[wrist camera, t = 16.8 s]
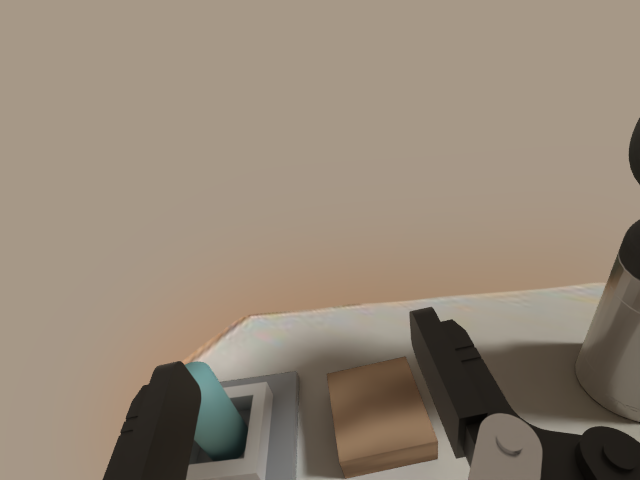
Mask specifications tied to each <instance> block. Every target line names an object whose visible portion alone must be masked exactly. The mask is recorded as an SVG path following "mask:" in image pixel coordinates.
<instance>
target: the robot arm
mask: <svg viewBox="0 0 640 480" xmlns="http://www.w3.org/2000/svg"><path fill="white" fill-rule="evenodd" d="M629 162H630V168H631V170H632V173H633V175H634V177H635V179H636V180H637V182H638V183H639V184H640V118H639V120H638V122H637V124H636V126H635V129H634V131H633V134H632V137H631V141H630V146H629ZM410 329H411V341H412V346H413V350H414V353H415V356H416V359H417V361H418V364H419V366H420V369H421V371H422V374H423V376H424V379H425V381H426V384H427V386H428V389H429V391H430V394H431V396H432V399H433V402H434V404H435V407H436V409H437V412H438V414H439V417H440V419H441V422H442V424H443V427H444V429H445V432H446V434H447V437H448V439H449V442H450V444H451V447H452V449H453V452H454V454H455V457H456V458H461V457H466V458H467V461H468V463H469V466H470V473H469V477H468V480H640V443H639V442H638V441H637V440H635V439H634V438H632V437H631V436H629V435H628V434H626V433H624V432H622V431H619V430H617V429H614V428H610V427H604V426H597V427H592V428H590V429H588V430H586V431H585V432H584V433H583V435H577V434H570V433H562V432H555V431H549V430H544V429H541V428H538V427H535V426H533V425H531V424H529V423H528V422H526V421H525V420H523V419H522V418H520V417H519V416H518V415H517V414H516V413H515V412H514V411H513V409H512V408H511V407H510V405H509V404H508V402H507V400H506V399H505V397H504V395H503V393H502V392H501V390H500V388H499V387H498V385H497V383H496V381H495V380H494V378H493V376H492V375H491V373H490V371H489V370H488V368H487V366H486V364H485V363H484V361H483V360H482V359H481V356H480V354H479V352H478V351H477V349H476V348H475V347H474V344H473V342H472V340H471V339H470V337H469V335H468V334H467V332H466V330H464V329H463V328H462V327H461V326H460V325H458V324H457V323H456V322H455V321H453V320H447V321H442V322H440V320H439V318H438V316H437V314H436V312H435V311H434V309H433V308H432V307H428V308H424V309H419V310H415V311H410ZM575 371H576V376H577V378H578V380H579V382H580V384H581V386H582V387H583V388H584V390H585V391H586V392H587V393H588V394H589V395H590V396H591V397H592V398H593V399H594V400H595V401H597V402H598V403H599V404H601V405H602V406H603V407H605V408H606V409H608V410H610V411H612V412H613V413H615V414H618V415H620V416H622V417H625V418H627V419H631V420H634V421H638V422H640V220H638V221H637V222H635V223H634V224H633V225H632V226H631V227H630V228H629V229H628V231H627V232H626V234H625V236H624V239H623V241H622V244H621V247H620V249H619V252H618V254H617V257H616V260H615V262H614V265H613V268H612V270H611V273H610V276H609V279H608V281H607V283H606V286H605V289H604V291H603V294H602V296H601V299H600V302H599V304H598V307H597V309H596V312H595V314H594V317H593V320H592V322H591V325H590V327H589V330H588V333H587V335H586V338H585V340H584V342H583V345H582V348H581V350H580V353H579V355H578V358H577V361H576V365H575ZM200 406H201V390H200V386H199V384H198V383H197V381H196V380H195V379H194V377H193V376H192V375H191V373H190V372H189V371H188V369H187V368H186V366H185V365H184V364H183V363H182V362H181V361H178V362H173V363H169V364H164V365H160V366H157V367H156V368H155V370H154V372H153V374H152V377H151V380H150V383H149V385H144V386H143V387H142V388H141V390H140V391H139V392H138V394H137V395H136V397H135V398H134V399H133V401H132V403H131V406H130V408H129V411H128V413H127V416H126V422H124V424H123V427H122V429H121V435H120V436H119V438H118V440H117V443H116V446H115V448H114V451H113V454H112V456H111V459H110V462H109V464H108V467H107V470H106V472H105V475H104V478H103V480H186V477H187V471H188V466H189V461H190V456H191V451H192V446H193V441H194V436H195V431H196V426H197V421H198V416H199V411H200Z"/></svg>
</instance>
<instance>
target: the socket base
mask: <svg viewBox="0 0 640 480" xmlns="http://www.w3.org/2000/svg"><path fill="white" fill-rule="evenodd" d="M220 384H221V386H222V387H223V389H224V390H225V392H226V394H227V395H228V397H229V398H230V400H231V401H232V403H233V405H234V406H235V408H236V409H237V411H238V412H239V414H240V416H241V417H242V419H243V420H244V422H245V424H246V425H247V427H248V435H247V441H246V448H245V451H244V452H243V454H242V455H241V456H240V457H239V458H238V459H233V460H225V461H216V462H213V461H212V460H211V458H210V457H209V456H208V455H207V454H206V453H205V451H204V450H203V449H202V448H201V447H200V446H199V444H198V443H197V442H196V441H195V440H194V441H193V446H192V451H191V456H190V461H189V466H188V471H187V477H186V480H296V458H297V426H298V393H299V376H298V374H297V371H294V372H287V373H280V374H273V375H266V376H259V377H252V378H245V379H238V380H231V381H224V382H220Z"/></svg>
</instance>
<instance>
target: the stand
mask: <svg viewBox="0 0 640 480" xmlns="http://www.w3.org/2000/svg"><path fill="white" fill-rule="evenodd" d="M327 380H328V387H329V394H330V401H331V408H332V415H333V422H334V429H335V436H336V443H337V450H338V457H339V463H340V466H341V468H342V471H343V474H344V476H345V479H346V478H351V477H355V476H360V475H365V474H369V473H374V472H379V471H383V470H388V469H393V468H397V467H402V466H407V465H411V464H416V463H421V462H425V461H430V460H435V459H438V440H437V438H436V435H435V432H434V430H433V427H432V425H431V422H430V419H429V417H428V414H427V412H426V409H425V406H424V404H423V401H422V398H421V396H420V393H419V391H418V388H417V385H416V383H415V380H414V377H413V375H412V372H411V370H410V367H409V364H408V362H407V359H406V357H401V358H397V359H392V360H388V361H383V362H379V363H374V364H369V365H365V366H360V367H356V368H351V369H347V370H342V371H338V372H333V373H328V374H327Z"/></svg>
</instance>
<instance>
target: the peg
mask: <svg viewBox="0 0 640 480" xmlns="http://www.w3.org/2000/svg"><path fill="white" fill-rule="evenodd" d="M185 366H186V368H187V369H188V371H189V372H190V373H191V375H192V376H193V377H194V379H195V380H196V381H197V383H198V384H199V386H200V390H201V406H200V411H199V416H198V421H197V426H196V431H195V436H194V440H195V441H196V442H197V443H198V444H199V446H200V447H201V448H202V449H203V450H204V451H205V453H206V454H207V455H208V456H209V457H210V458H211V460H212V461H213V462H216V461H225V460H233V459H238V458H239V457H240V456H241V455H242V454H243V452H244V451H245V448H246V441H247V435H248V427H247V425H246V424H245V422H244V420H243V419H242V417H241V416H240V414H239V412H238V411H237V409H236V408H235V406H234V405H233V403H232V401H231V400H230V398H229V397H228V395H227V394H226V392H225V390H224V389H223V387H222V386H221V384H220V382H219V381H218V379H217V378H216V376H215V375H214V373H213V371H212V370H211V368H210V367H209V366H208V365H207V364H206V363H203V362H191V363H188V364H186V365H185Z"/></svg>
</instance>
